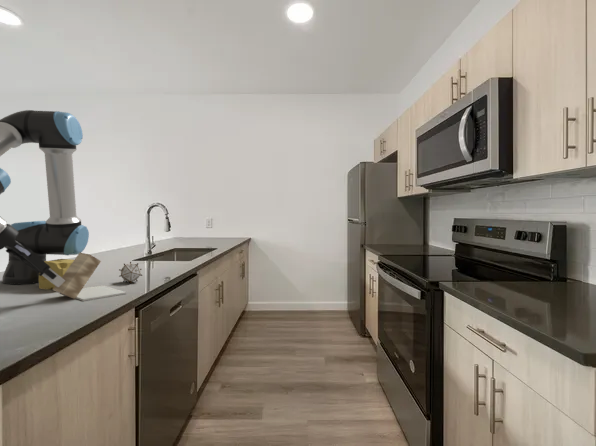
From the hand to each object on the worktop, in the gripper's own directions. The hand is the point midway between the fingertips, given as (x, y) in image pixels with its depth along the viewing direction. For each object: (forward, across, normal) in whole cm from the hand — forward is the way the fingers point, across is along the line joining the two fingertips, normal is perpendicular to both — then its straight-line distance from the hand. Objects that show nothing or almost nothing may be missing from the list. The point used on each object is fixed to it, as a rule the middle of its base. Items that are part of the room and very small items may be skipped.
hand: (61, 283), depth 114 cm
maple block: (+4, -1, -2) cm, 4 cm away
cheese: (+9, -19, +2) cm, 21 cm away
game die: (+24, -10, +17) cm, 31 cm away
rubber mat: (+11, -1, +4) cm, 12 cm away
